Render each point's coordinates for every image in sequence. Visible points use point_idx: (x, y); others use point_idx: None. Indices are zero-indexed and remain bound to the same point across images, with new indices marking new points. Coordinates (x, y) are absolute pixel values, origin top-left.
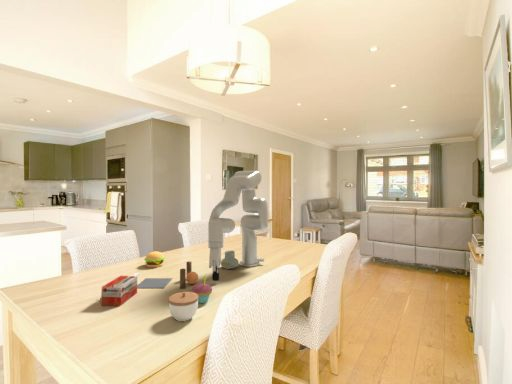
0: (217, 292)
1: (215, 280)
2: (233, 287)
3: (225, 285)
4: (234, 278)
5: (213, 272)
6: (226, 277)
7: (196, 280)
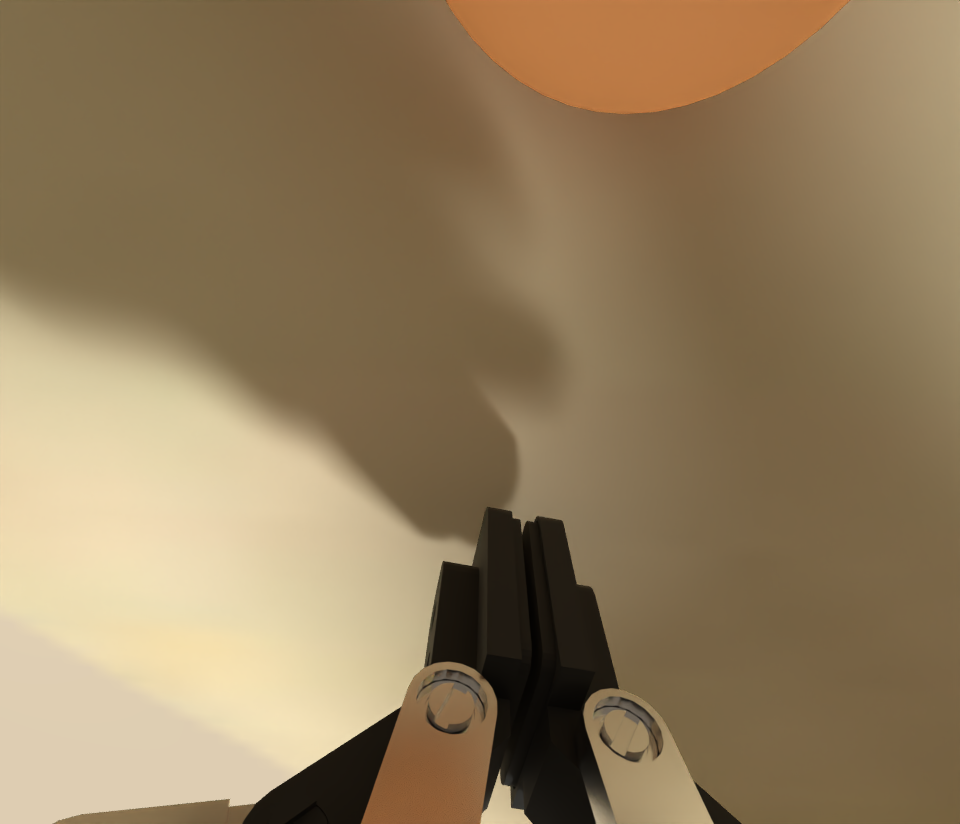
0: (3, 520)
1: (474, 566)
2: (250, 745)
3: (354, 661)
4: None
5: (402, 713)
6: (777, 714)
7: (479, 45)
